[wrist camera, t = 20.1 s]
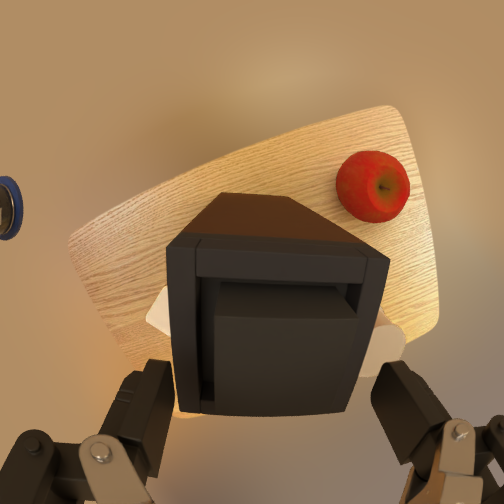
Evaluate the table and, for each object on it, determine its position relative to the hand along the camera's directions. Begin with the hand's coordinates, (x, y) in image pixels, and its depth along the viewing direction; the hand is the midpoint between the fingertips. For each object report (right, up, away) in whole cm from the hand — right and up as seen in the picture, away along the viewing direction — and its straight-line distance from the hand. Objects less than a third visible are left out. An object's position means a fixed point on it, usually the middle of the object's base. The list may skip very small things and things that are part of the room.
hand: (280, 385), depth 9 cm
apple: (+12, +14, +26) cm, 32 cm away
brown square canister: (-1, +8, +27) cm, 29 cm away
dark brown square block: (0, +1, +3) cm, 4 cm away
